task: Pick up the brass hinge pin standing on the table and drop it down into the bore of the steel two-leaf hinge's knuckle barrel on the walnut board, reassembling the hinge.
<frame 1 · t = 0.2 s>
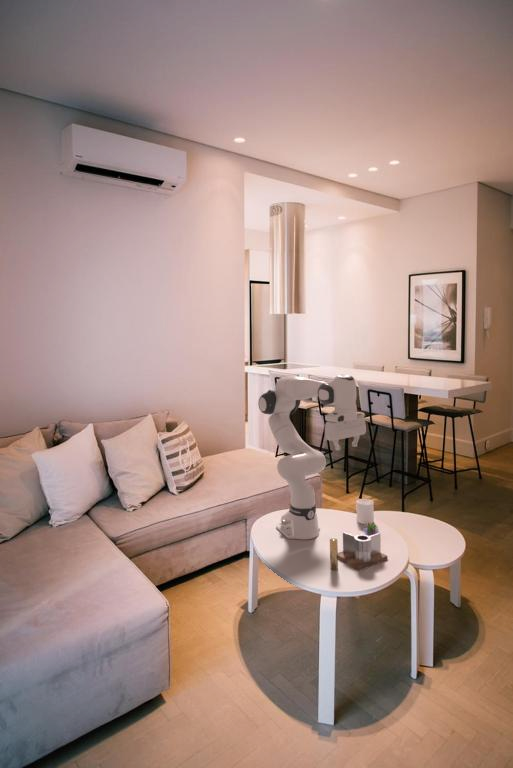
hand: (346, 448, 191), 47 cm above the table, fingers open, 8 cm apart
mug: (363, 520, 235), on the table
geometric puzzle: (371, 538, 215), on the table
hinge pin: (334, 568, 187), on the table
hinge: (362, 558, 191), resting on base board
base board: (361, 558, 195), on the table
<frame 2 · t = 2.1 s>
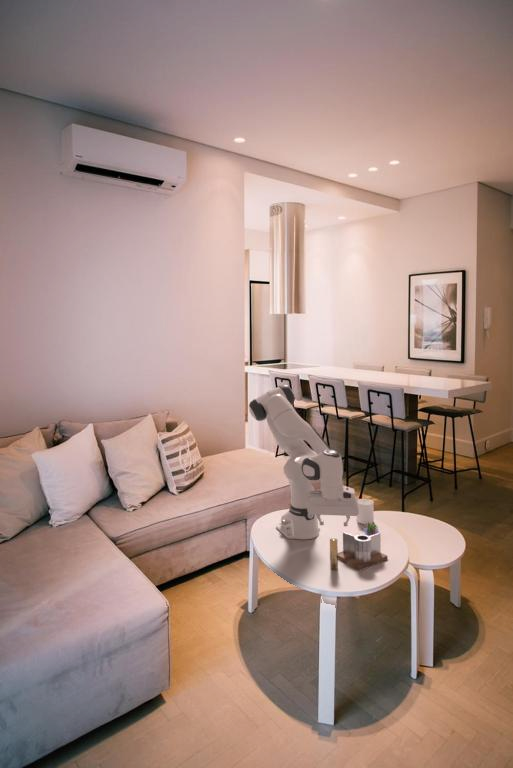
hand: (333, 525, 185), 18 cm above the table, fingers open, 8 cm apart
nothing on the table moved.
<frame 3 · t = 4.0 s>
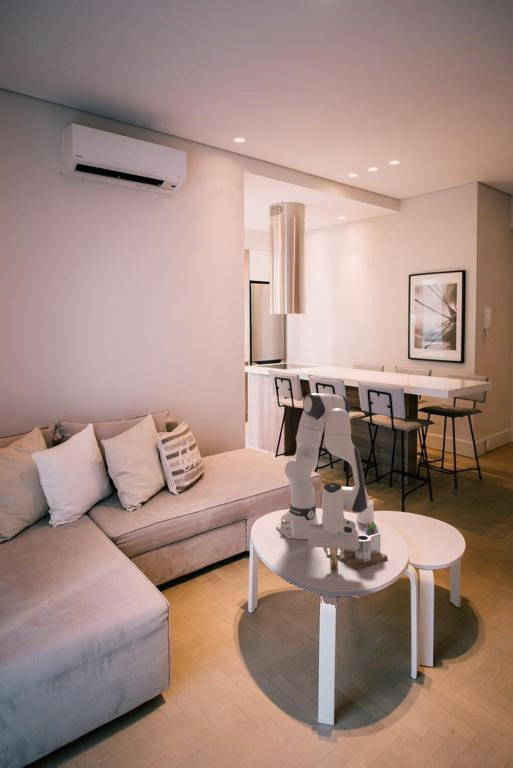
hand: (333, 557, 187), 4 cm above the table, fingers closed on hinge pin, 3 cm apart
hinge pin: (334, 568, 187), on the table, touching gripper
everything else where it was.
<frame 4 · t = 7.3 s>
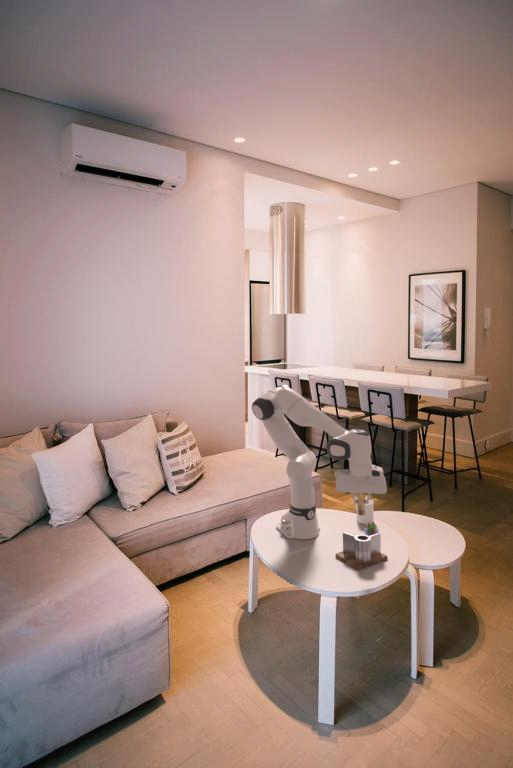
hand: (361, 503, 189), 25 cm above the table, fingers closed on hinge pin, 3 cm apart
hinge pin: (361, 514, 189), point 21 cm above the table, touching gripper
everything else where it was.
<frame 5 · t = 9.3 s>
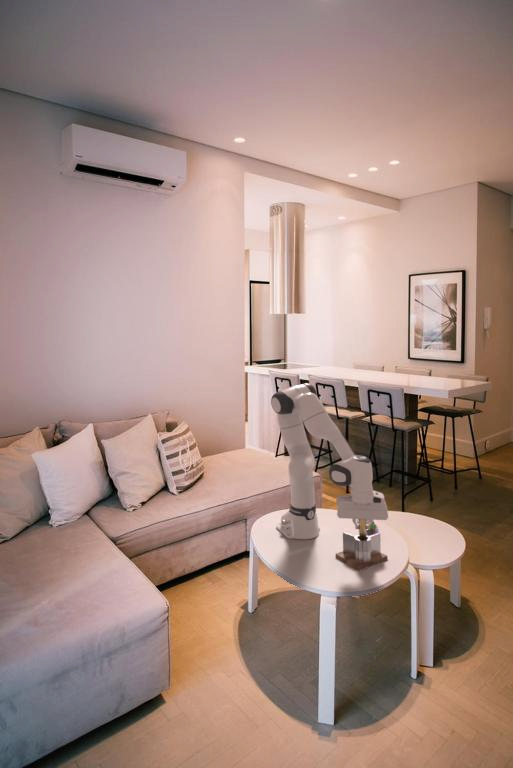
hand: (362, 528, 190), 14 cm above the table, fingers closed on hinge pin, 3 cm apart
hinge pin: (362, 539, 190), point 10 cm above the table, touching gripper
everything else where it was.
when the fingers open (12 cm above the table, at t = 10.7 s): hinge pin drops 6 cm, resting on base board.
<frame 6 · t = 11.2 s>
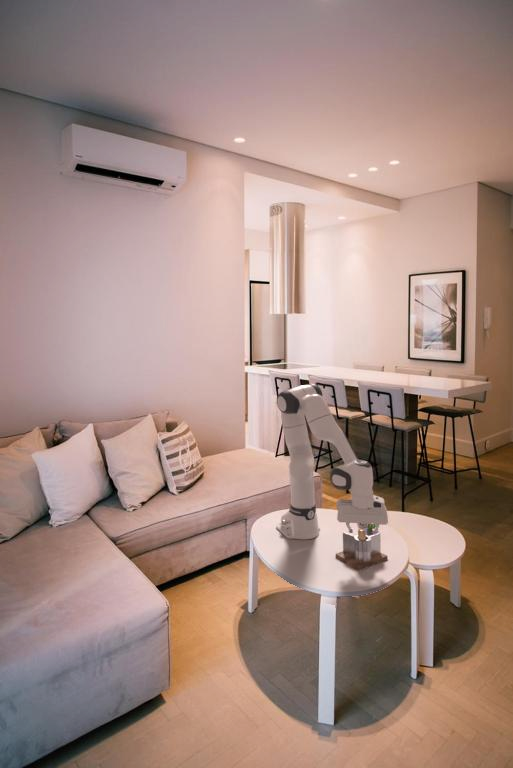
hand: (362, 533, 190), 12 cm above the table, fingers open, 8 cm apart
hinge pin: (363, 558, 191), point 2 cm above the table, touching base board
everything else where it was.
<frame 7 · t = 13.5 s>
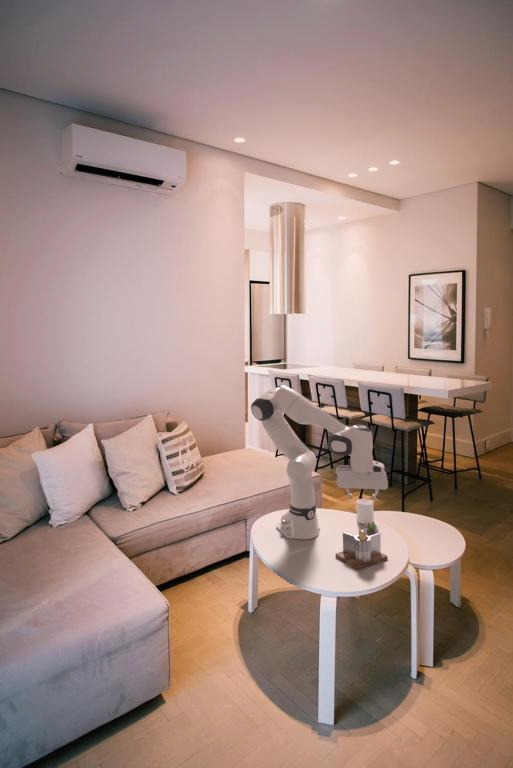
hand: (362, 498, 189), 27 cm above the table, fingers open, 8 cm apart
nothing on the table moved.
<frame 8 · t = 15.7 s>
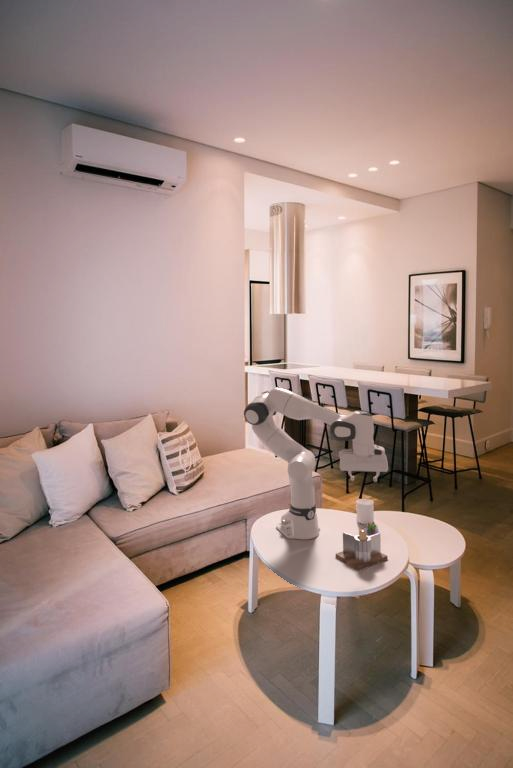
hand: (363, 481, 199), 31 cm above the table, fingers open, 8 cm apart
nothing on the table moved.
at the end: hinge pin 0.0 cm from the hinge (horizontally); hinge pin point 1.5 cm above the table; hinge pin tilted 0° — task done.
